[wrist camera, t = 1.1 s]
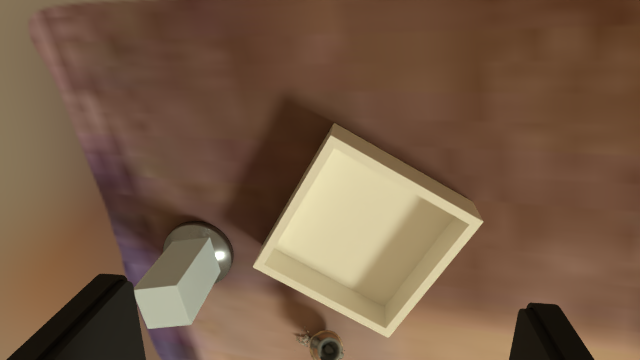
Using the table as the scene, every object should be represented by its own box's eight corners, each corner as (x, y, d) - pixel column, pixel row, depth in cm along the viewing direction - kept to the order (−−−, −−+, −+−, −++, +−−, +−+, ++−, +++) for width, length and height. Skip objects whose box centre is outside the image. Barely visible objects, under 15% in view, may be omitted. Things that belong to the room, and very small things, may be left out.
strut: (184, 275, 45) (148, 328, 37) (172, 241, 43) (132, 290, 36) (220, 271, 44) (191, 324, 36) (209, 237, 42) (176, 285, 35)
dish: (262, 244, 43) (252, 267, 40) (334, 122, 38) (330, 135, 34) (386, 310, 45) (388, 337, 41) (472, 201, 39) (483, 221, 36)
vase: (313, 298, 45) (310, 340, 40) (360, 315, 46) (364, 358, 41) (294, 335, 47) (289, 379, 42) (339, 350, 48) (340, 396, 42)
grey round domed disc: (157, 260, 45) (153, 265, 44) (181, 209, 43) (177, 213, 42) (217, 290, 46) (214, 296, 45) (244, 242, 43) (241, 247, 43)
